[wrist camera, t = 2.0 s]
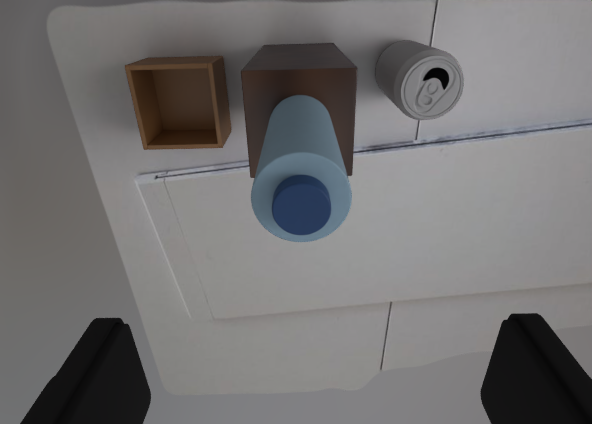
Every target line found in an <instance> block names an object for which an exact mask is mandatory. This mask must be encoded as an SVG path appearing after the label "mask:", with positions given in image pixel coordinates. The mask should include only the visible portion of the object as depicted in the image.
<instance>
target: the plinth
mask: <svg viewBox="0 0 592 424" xmlns="http://www.w3.org/2000/svg"><path fill="white" fill-rule="evenodd" d="M241 78H242V89H243V100H244V111H245V122H246V133H247V144H248V155H249V166H250V177H251V178H255V175H256V171H257V167H258V163H259V159H260V155H261V151H262V147H263V143H264V139H265V135H266V132H267V128H268V124H269V120H270V116H271V114H272V112H273V110H274V108H275V107H276V106H277V105H278V104H279V103H280V102H281V101H282V100H284V99H286V98H288V97H291V96H295V95H306V96H310V97H313V98H315V99H317V100H318V101H320V102H321V103H322V104H323V105H324V106H325V108H326V109H327V111H328V112H329V115H330V118H331V121H332V125H333V128H334V131H335V135H336V138H337V142H338V145H339V149H340V152H341V155H342V159H343V162H344V166H345V169H346V173H347V176H352V168H353V147H354V127H355V106H356V86H357V67H356V66H355V65H354V64H353V63H352V62H351V61H350V60H349V59H348V58H347V57H346V56H345V55H344V54H343V53H342V52H341V51H340V50H339V49H338V48H337V47H336V45H335V44H334V43H318V44H282V45H264V46H263V47H262V48H261V49H260V50H259V52H258V53H257V54H256V55H255V56H254V57H253V58H252V59H251V61H250V62H249V63H248V64H247V65H246V66H245V67H244V68H243V69H242V71H241Z"/></svg>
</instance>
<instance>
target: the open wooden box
mask: <svg viewBox="0 0 592 424" xmlns="http://www.w3.org/2000/svg"><path fill="white" fill-rule="evenodd" d="M125 70H126V74H127V78H128V83H129V87H130V91H131V96H132V100H133V105H134V109H135V113H136V118H137V122H138V126H139V131H140V135H141V140H142V144H143V148H144V150H148V149H149V150H150V149H193V148H223V146H224V144H225V142H226V140H227V138H228V137H229V135H230V133H231V122H230V113H229V104H228V95H227V86H226V77H225V68H224V58H223V56H198V57H162V58H145V59H142V60H139V61H136V62H133V63H131V64H128V65H125Z"/></svg>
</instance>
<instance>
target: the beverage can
mask: <svg viewBox="0 0 592 424" xmlns="http://www.w3.org/2000/svg"><path fill="white" fill-rule="evenodd" d="M375 76H376V81H377V84H378V86H379V88H380V89H381V90H382V91H383V93H384V94H385V95H386V96H387V97H388V98H389V99H390V100H391V101H392V102H393V103H394V104H395V105H396V106H397V107H398V108H399V109H400V110H401V111H402V112H403V113H404V114H405V115H407V116H408V117H410V118H413V119H417V120H429V119H435V118H438V117H441V116H443V115H445V114H446V113H448V112H449V111H450V110H451V109H452V108H453V107H454V106H455V105H456V104H457V102H458V101H459V99H460V97H461V94H462V91H463V86H464V78H463V73H462V70H461V67H460V65H459V63H458V61H457V60H456V59H455V58H454V57H453V56H452V55H451V54H449V53H448V52H445V51H442V50H439V49H436V48H433V47H430V46H427V45H424V44H421V43H417V42H414V41H410V40H404V41H399V42H396V43H394V44H392V45H390V46H389V47H388V48H387V49H385V50H384V52H383V53H382V54H381V56H380V57H379V59H378V62H377V65H376V70H375Z"/></svg>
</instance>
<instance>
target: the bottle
mask: <svg viewBox="0 0 592 424" xmlns="http://www.w3.org/2000/svg"><path fill="white" fill-rule="evenodd" d="M351 200H352V193H351V187H350V183H349V180H348V176H347V173H346V169H345V166H344V162H343V159H342V155H341V152H340V149H339V145H338V142H337V138H336V135H335V131H334V128H333V125H332V121H331V118H330V115H329V112H328V111H327V109H326V108H325V106H324V105H323V104H322V103H321V102H320V101H318V100H317V99H315V98H313V97H310V96H306V95H295V96H291V97H288V98H286V99H284V100H282V101H281V102H280V103H279V104H278V105H277V106H276V107H275V108H274V110H273V112H272V114H271V116H270V120H269V124H268V128H267V132H266V135H265V139H264V143H263V147H262V151H261V155H260V159H259V163H258V167H257V171H256V175H255V179H254V183H253V187H252V191H251V203H252V207H253V210H254V213H255V215H256V217H257V219H258V220H259V222H260V223H261V224H262V225H263V226H264V228H265V229H267V230H268V231H269V232H270V233H272V234H274V235H275V236H277V237H279V238H282V239H285V240H288V241H294V242H309V241H314V240H318V239H321V238H323V237H325V236H327V235H329V234H331V233H332V232H333V231H335V230H336V229H337V228H338V227H339V226H340V225H341V224H342V223H343V221H344V220H345V218H346V216H347V215H348V212H349V210H350V206H351Z"/></svg>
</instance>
